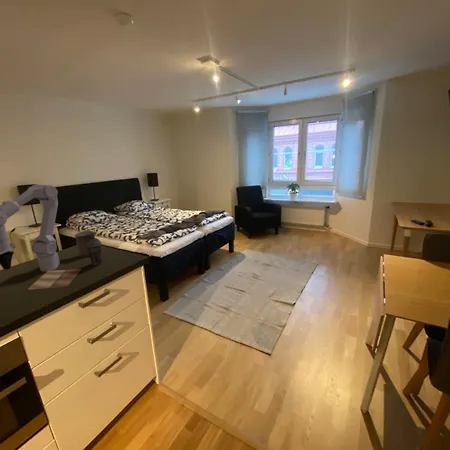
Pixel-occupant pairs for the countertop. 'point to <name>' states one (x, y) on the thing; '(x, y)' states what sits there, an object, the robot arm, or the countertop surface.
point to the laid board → (66, 278)
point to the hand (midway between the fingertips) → (7, 268)
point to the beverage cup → (95, 250)
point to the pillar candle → (83, 243)
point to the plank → (46, 280)
